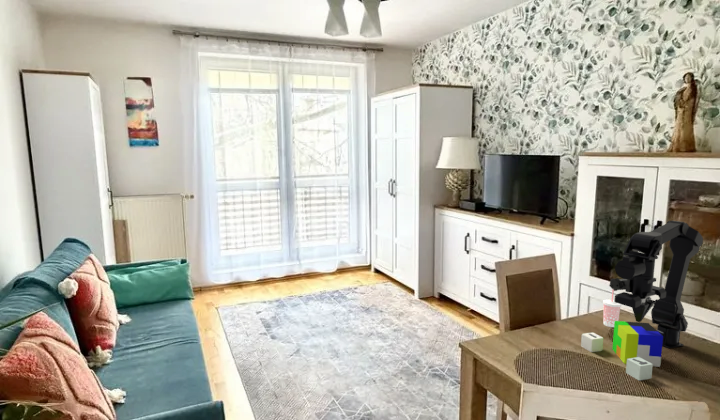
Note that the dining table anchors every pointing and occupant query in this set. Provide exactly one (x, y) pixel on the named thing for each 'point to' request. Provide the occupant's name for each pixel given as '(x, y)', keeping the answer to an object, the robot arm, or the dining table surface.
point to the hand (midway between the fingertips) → (638, 321)
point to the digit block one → (592, 342)
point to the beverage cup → (610, 311)
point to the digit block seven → (639, 368)
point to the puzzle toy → (637, 342)
